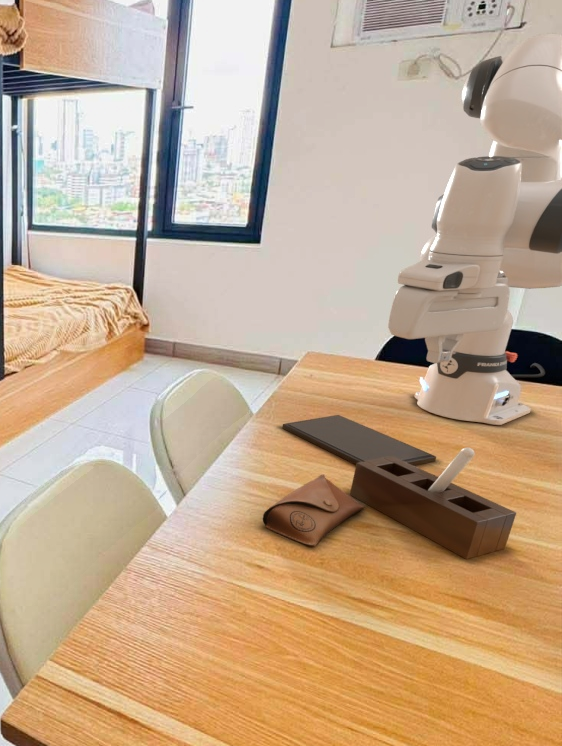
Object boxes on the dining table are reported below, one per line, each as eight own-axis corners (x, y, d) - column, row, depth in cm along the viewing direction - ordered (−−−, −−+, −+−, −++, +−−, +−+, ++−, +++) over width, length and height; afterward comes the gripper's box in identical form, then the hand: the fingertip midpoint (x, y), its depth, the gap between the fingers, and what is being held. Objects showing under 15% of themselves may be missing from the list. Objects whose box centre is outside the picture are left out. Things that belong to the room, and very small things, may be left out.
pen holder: (384, 487, 108) (392, 455, 105) (505, 548, 90) (517, 512, 88) (349, 494, 105) (356, 462, 103) (466, 559, 88) (477, 522, 86)
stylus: (417, 511, 100) (473, 445, 90) (422, 519, 98) (479, 453, 89) (407, 510, 100) (462, 444, 90) (411, 518, 98) (468, 452, 89)
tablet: (337, 418, 136) (338, 414, 136) (435, 461, 116) (436, 455, 116) (281, 428, 132) (282, 423, 131) (374, 473, 112) (375, 468, 112)
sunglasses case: (317, 547, 90) (300, 503, 91) (273, 550, 96) (257, 508, 96) (368, 506, 101) (352, 466, 101) (325, 511, 106) (310, 473, 107)
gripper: (487, 266, 99) (465, 350, 104) (390, 272, 93) (371, 361, 98) (531, 272, 94) (506, 361, 98) (431, 279, 88) (408, 373, 92)
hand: (437, 361), depth 98 cm, fingers closed
